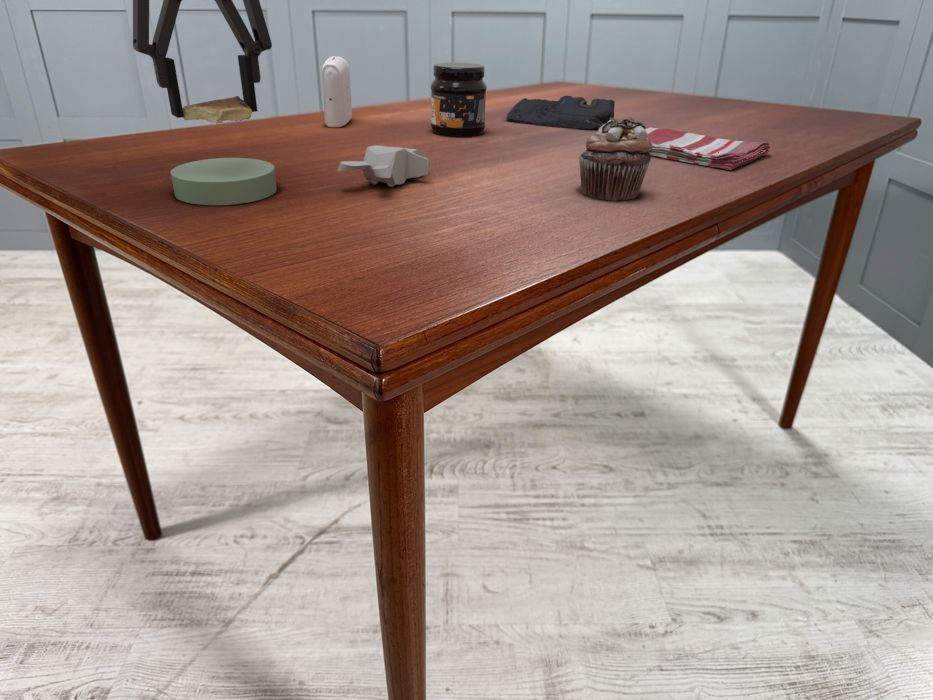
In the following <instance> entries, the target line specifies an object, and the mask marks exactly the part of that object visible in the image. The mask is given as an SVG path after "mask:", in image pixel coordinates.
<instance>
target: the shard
mask: <svg viewBox="0 0 933 700" xmlns="http://www.w3.org/2000/svg"><path fill="white" fill-rule="evenodd" d="M182 109H183V115H184V117H182V118H183V120H184V121H194V120H197V121H198V120H202V121H207V122H210V123H215V124H221V123H223V122H225V121H230V122H242V121H245V120H250V119H251V117H252V114H253V112H252V110H251V109H250V107H249V106H248V105H247V104H246V103H245V101H244V100H243V98H240V96H239V95H236V96H233V97H232V96H231V97H226V98H221V99H213V100H209V101H208V100H207V101H203V102H197V103H193V104H189V105H184V106H182Z"/></svg>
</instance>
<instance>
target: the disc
mask: <svg viewBox="0 0 933 700" xmlns="http://www.w3.org/2000/svg"><path fill="white" fill-rule="evenodd" d="M170 177H171V183H172V188H173V191H174V192H173V193H174V197H175V198H176V199H177V200H179V201H181V202H183V203H186V204H190V205H191V204H192V205H197V206H235V205H242V204H248V203H252V202H257V201H261V200H264V199H267V198H269V197H271V196H273V195H274V194H275V193H276V192H277V190H278V187H277V186H278V185H277V179H276V169H275V166H274V164H272V163H270V162H269V161H265V160H262V159H256V158H248V157H219V158H208V159H207V158H206V159H200V160H194V161H190V162H189V161H188V162H186V163H185V162H184V163H183V164H179V165H176V166H174V168H172V169H171V170H170Z"/></svg>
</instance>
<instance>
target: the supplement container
mask: <svg viewBox="0 0 933 700" xmlns="http://www.w3.org/2000/svg"><path fill="white" fill-rule="evenodd" d="M432 67H433V73H432V75H433V76H434V79H433V80H432V82H430V90H431V91H430V94H431V96H430V97H431V104H430V105H431V106H430V107H431V109H430V110H431V113H430V114H431V115H430V128H431V130H432V131H433V132H434V133H436V134H438V135H442V136H447V137H474V136H478V135H480V134H482V133H483V132H484V131H485V129H486V123H485V121H486V99H487V98H486V97H487V95H486V94H487V89H488V87H487V86H488V85H487V84H486V82H485V81H484V78H485V73H486V72H485V69H486V68H485V65H483V64H480V63H474V62H473V63H472V62H439V63H435V64H433V66H432Z"/></svg>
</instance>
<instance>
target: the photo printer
mask: <svg viewBox="0 0 933 700" xmlns="http://www.w3.org/2000/svg"><path fill="white" fill-rule="evenodd" d="M320 74H321V86H322V101H323V114H324V125H325V126H327V127H328V128H342V127H344V126H346V125H347V124H348V123H349V122H350V121H351V120H352V118H353V108H352V107H353V106H352V105H353V104H352V103H353V102H352V88H351V87H352V86H351V70H350V65H349V63H348V61H347V60H346V59H345V58H343V57H342V56H341V55H337V56H336V55H331V56H330V57H328V58H327V59H326V60H325V61H324V63H323V65H322V67H321V73H320Z"/></svg>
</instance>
